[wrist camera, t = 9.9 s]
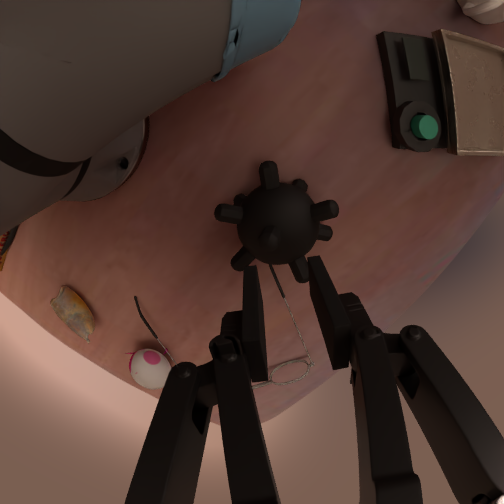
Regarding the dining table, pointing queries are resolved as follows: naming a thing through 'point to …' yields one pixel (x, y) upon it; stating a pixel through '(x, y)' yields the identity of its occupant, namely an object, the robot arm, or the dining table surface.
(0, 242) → the chocolate bar
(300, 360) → the eyeglasses
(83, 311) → the yellow beige chunk
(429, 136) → the tare button
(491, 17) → the cup
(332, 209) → the toy ball
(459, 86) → the pan
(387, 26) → the dining table surface
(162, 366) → the stress ball
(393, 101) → the scale
